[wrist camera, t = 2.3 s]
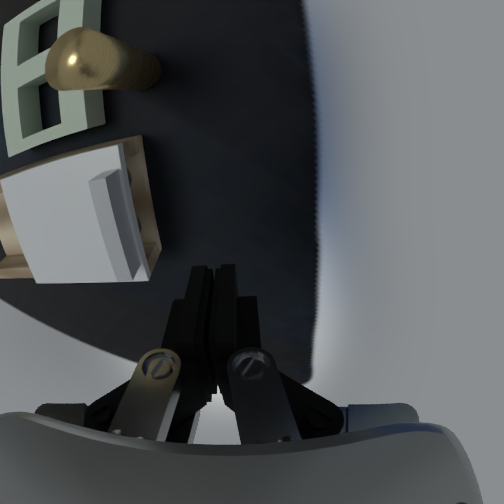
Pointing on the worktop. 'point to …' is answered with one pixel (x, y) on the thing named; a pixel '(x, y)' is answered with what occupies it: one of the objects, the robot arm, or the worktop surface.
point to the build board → (43, 76)
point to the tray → (141, 196)
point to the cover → (78, 219)
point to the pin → (99, 63)
